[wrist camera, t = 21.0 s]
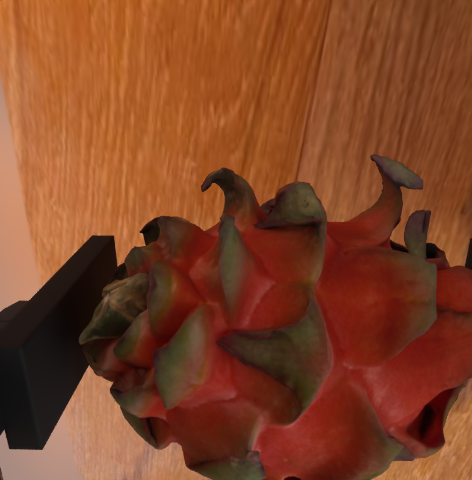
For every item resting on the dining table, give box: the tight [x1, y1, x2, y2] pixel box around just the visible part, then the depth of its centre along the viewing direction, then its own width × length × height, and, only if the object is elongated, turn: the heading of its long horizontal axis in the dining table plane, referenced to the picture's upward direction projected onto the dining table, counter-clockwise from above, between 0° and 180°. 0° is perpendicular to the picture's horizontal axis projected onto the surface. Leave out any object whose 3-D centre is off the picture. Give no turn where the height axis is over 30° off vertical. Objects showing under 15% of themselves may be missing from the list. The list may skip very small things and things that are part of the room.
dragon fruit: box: [79, 155, 472, 480], centre depth 12 cm, size 8×8×12 cm
